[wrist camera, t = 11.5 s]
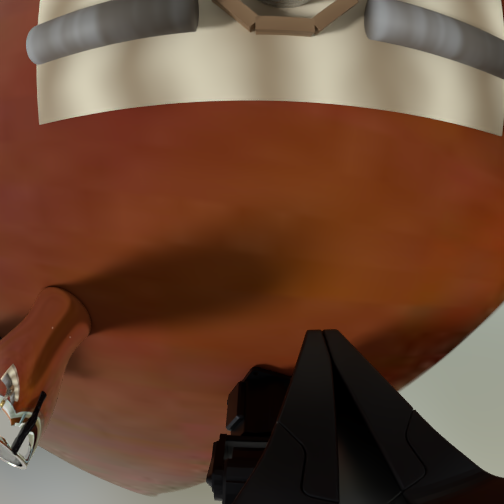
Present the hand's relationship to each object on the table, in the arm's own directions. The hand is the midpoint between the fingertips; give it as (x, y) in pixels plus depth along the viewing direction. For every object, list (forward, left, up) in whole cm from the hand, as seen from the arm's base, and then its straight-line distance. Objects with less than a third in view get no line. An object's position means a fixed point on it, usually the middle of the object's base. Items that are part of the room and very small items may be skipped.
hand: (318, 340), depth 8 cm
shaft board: (+6, -11, -13) cm, 18 cm away
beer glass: (+13, +18, -13) cm, 26 cm away
